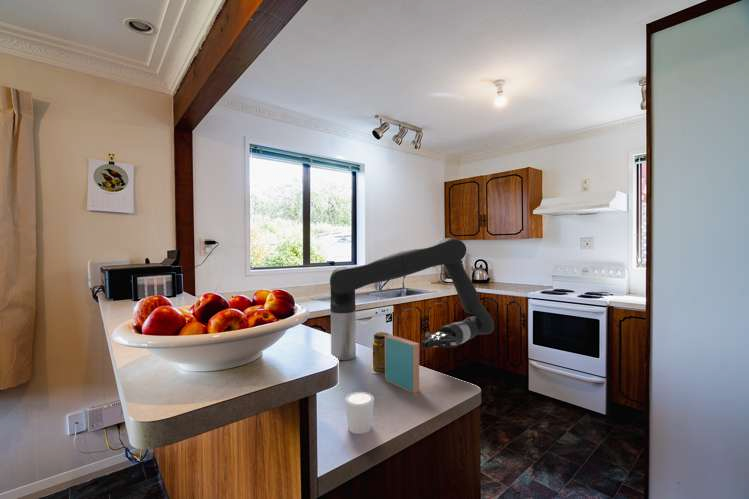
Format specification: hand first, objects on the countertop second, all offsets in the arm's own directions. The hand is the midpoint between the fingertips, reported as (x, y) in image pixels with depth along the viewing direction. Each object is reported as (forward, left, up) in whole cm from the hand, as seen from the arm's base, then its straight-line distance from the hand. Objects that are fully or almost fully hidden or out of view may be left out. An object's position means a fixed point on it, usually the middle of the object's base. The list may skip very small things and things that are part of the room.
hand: (423, 345), depth 109 cm
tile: (+5, -9, -10) cm, 14 cm away
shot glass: (+24, -25, -10) cm, 36 cm away
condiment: (-8, -11, -10) cm, 17 cm away
